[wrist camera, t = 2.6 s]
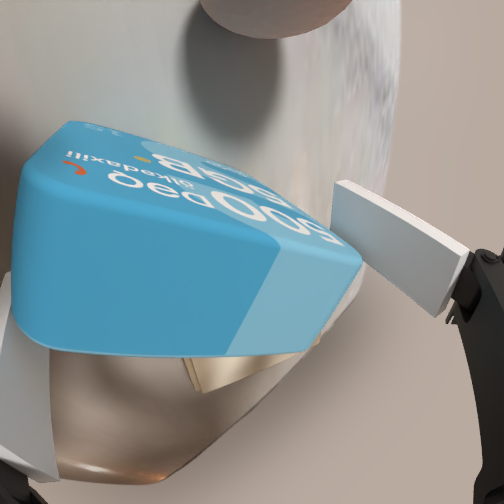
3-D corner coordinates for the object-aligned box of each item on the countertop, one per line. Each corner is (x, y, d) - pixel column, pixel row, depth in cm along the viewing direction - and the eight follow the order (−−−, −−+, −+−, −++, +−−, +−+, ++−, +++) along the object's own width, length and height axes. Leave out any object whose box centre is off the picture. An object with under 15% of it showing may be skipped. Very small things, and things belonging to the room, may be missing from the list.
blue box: (245, 172, 20) (379, 265, 11) (219, 230, 21) (323, 352, 12) (70, 117, 13) (5, 176, 4) (49, 192, 14) (4, 347, 5)
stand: (188, 375, 28) (199, 398, 26) (159, 285, 21) (169, 312, 19) (306, 326, 33) (321, 344, 31) (317, 235, 26) (339, 252, 24)
